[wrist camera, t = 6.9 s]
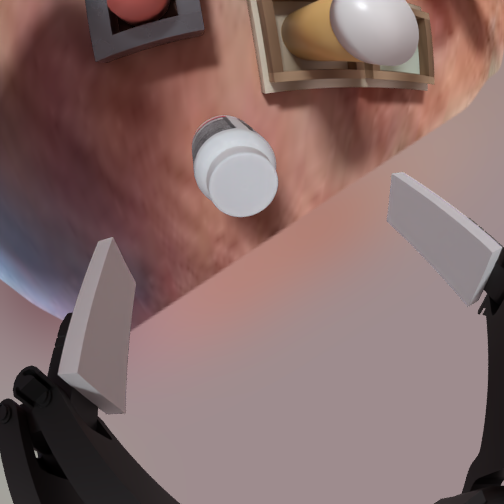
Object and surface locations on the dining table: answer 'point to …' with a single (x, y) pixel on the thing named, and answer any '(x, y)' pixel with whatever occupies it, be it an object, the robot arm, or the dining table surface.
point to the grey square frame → (139, 30)
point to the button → (139, 10)
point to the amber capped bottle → (352, 31)
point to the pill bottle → (234, 166)
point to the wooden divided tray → (330, 72)
